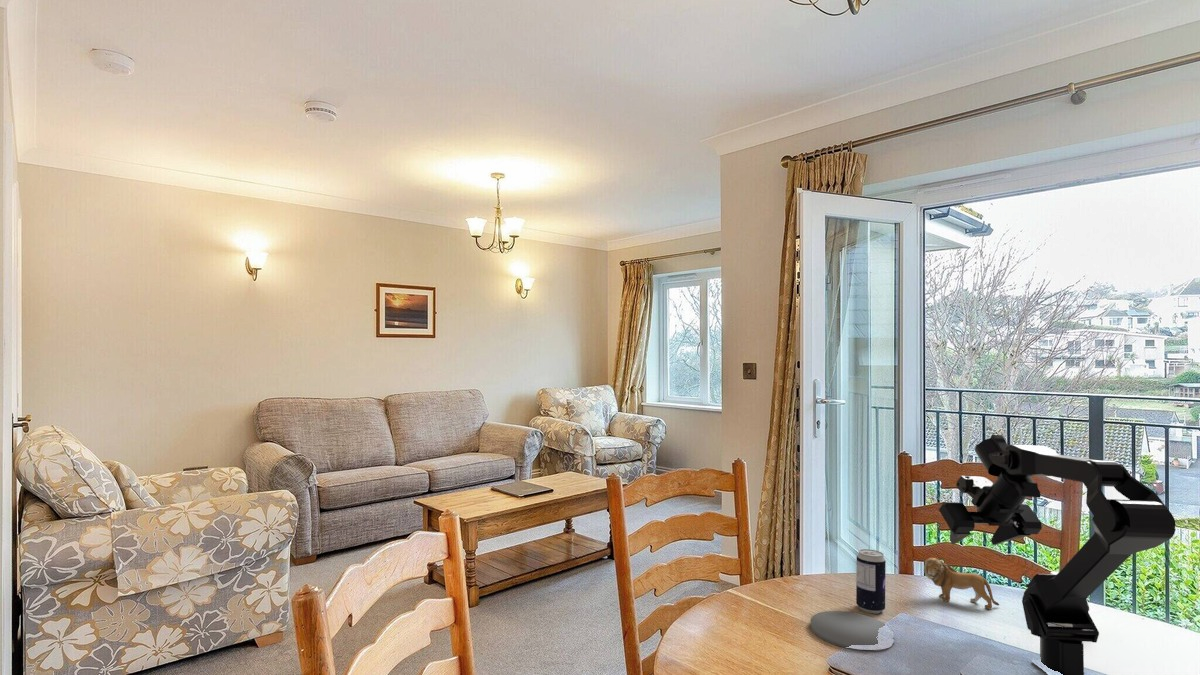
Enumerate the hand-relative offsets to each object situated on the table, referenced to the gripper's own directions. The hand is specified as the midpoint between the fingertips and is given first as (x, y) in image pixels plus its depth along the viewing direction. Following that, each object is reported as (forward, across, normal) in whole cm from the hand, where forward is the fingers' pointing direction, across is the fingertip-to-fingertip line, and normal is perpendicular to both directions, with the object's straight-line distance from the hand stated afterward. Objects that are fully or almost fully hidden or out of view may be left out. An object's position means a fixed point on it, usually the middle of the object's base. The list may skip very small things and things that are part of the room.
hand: (972, 542), depth 129 cm
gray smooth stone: (+7, +31, +16) cm, 35 cm away
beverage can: (+14, +21, +7) cm, 26 cm away
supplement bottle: (+9, -17, +13) cm, 23 cm away
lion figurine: (+16, -2, +4) cm, 17 cm away
